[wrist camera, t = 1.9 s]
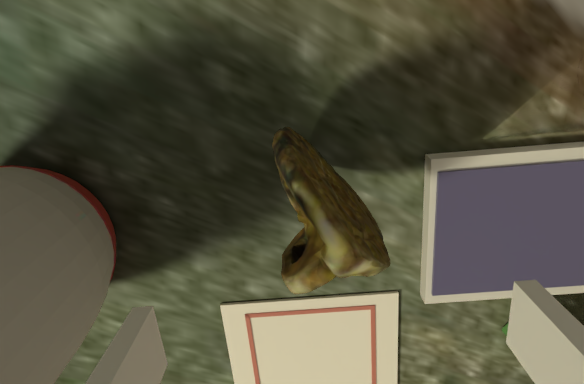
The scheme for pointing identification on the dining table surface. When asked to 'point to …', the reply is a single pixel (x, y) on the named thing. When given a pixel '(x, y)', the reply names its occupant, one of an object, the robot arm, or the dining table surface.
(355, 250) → the brown mottled tapered part
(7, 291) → the citrus juicer
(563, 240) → the ink pad
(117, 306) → the dining table surface
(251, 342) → the paper
